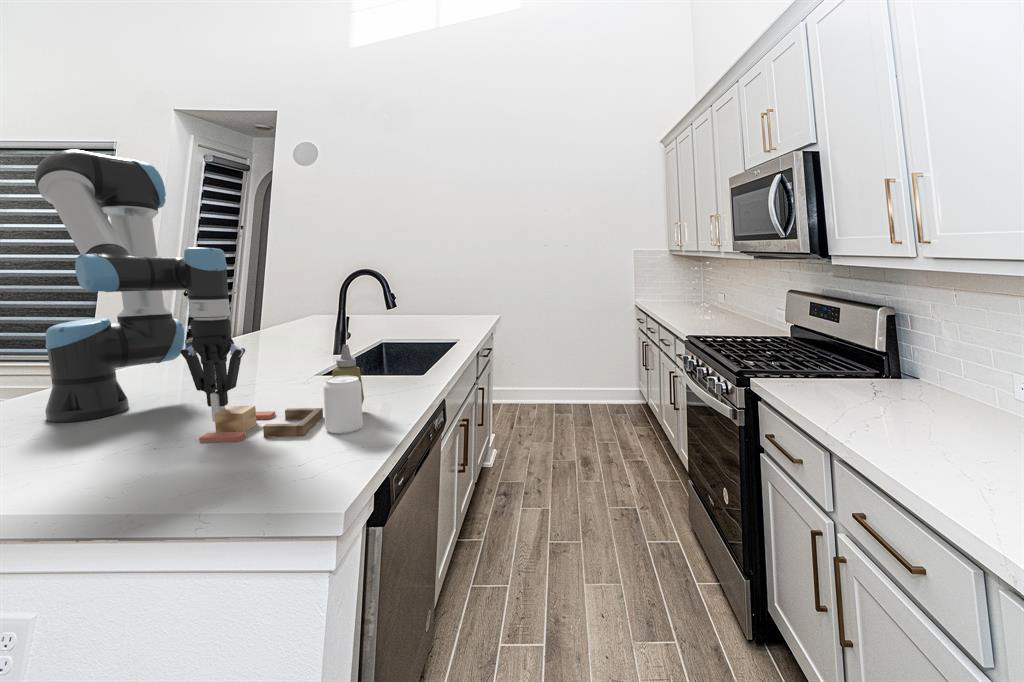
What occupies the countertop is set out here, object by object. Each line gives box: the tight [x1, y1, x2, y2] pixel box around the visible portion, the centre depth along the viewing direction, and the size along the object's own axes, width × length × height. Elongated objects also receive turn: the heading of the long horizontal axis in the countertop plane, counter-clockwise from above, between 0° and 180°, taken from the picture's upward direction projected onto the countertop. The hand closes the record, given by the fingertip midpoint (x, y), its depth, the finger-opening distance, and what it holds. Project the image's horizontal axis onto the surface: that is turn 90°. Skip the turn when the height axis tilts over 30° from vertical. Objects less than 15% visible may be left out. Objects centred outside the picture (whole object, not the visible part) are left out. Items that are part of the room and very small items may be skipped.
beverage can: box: [323, 376, 363, 435], centre depth 103 cm, size 8×8×12 cm
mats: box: [198, 410, 276, 443], centre depth 104 cm, size 8×18×1 cm, turn 5°
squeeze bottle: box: [331, 344, 365, 405], centre depth 114 cm, size 8×8×18 cm
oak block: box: [214, 405, 257, 433], centre depth 103 cm, size 6×6×4 cm
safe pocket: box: [262, 407, 324, 438], centre depth 105 cm, size 8×13×2 cm, turn 5°
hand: (219, 419), depth 103 cm, fingers closed
